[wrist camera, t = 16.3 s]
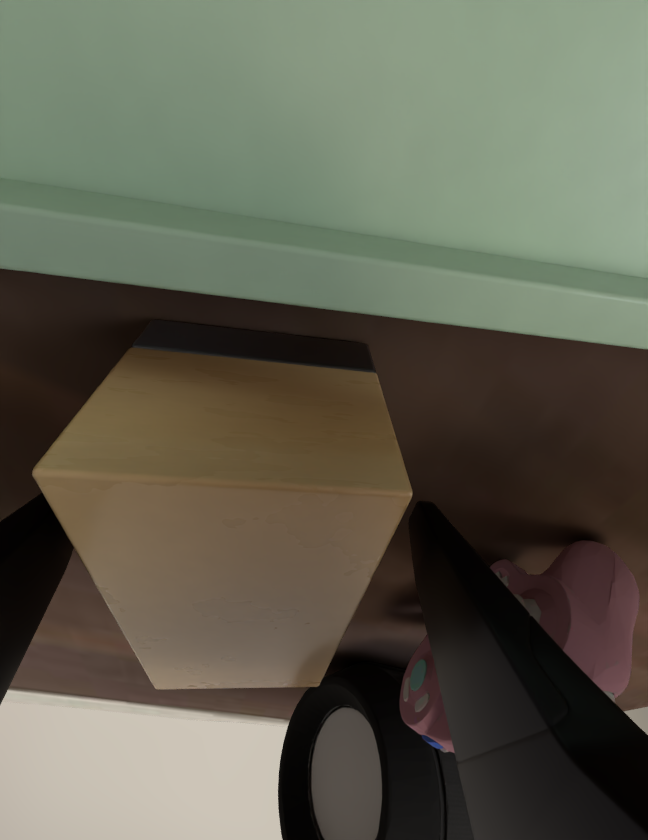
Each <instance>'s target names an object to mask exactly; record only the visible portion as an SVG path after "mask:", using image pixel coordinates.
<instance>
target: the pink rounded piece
mask: <svg viewBox="0 0 648 840" xmlns="http://www.w3.org/2000/svg"><path fill="white" fill-rule="evenodd" d="M490 568H491V569H492V571H493V572H494V573H495V574H496V575H497V576H498V577H499V579H500V580H501V581H502V582H503V583H504V584H505V585H506V587H507V588H508V589H509V590H510V591H511V592H512V593H513V595H514V596H515V597H516V598H517V599H518V600H519V601H520V603H521V604H522V605H523V606H524V607H525V608H526V609H527V611H528V612H529V613H530V616H533V617H534V618H535V620H536V621H537V622H538V623H539V624H540V625H541V626H542V628H543V629H544V630H545V631H546V632H547V633H548V634H549V635H550V637H551V638H552V639H553V640H554V641H555V642H556V643H557V644H558V645H559V646H560V648H561V649H562V650H563V651H564V652H565V653H566V654H567V655H568V656H569V657H570V658H571V659H572V660H573V661H574V662H575V663H576V664H577V665H578V666H579V667H580V668H581V669H582V670H583V672H584V673H585V674H586V675H587V676H588V677H589V678H590V679H591V680H592V681H593V682H594V683H595V684H596V685H597V686H598V687H599V688H600V689H601V690H602V691H603V692H604V693H605V694H606V695H607V696H608V697H609V698H610V699H611V700H612V701H613V702H614V703H615V699H614V698H616V697H617V696H619V695H620V694H621V693H622V692H623V691H624V690H625V688H626V687H627V686H628V682H629V678H630V674H631V660H632V639H633V629H634V625H635V621H636V617H637V613H638V608H639V590H638V587H637V584H636V581H635V577H634V576H633V575H632V573H631V572H630V570H629V569H628V567H627V566H626V564H625V563H624V562H623V561H622V559H621V558H620V557H619V556H618V555H617V554H616V553H615V552H613V551H612V550H611V549H610V548H609V547H607V546H605V545H603V544H600V543H597V542H594V541H578V542H575V543H573V544H571V545H569V546H567V547H566V548H565V549H564V550H563V551H562V552H561V553H560V554H559V556H558V557H557V558H556V559H555V560H554V562H553V563H552V564H551V565H550V567H549V568H548V569H547V570H546V571H545V572H543V573H542V574H540V575H528V574H527V573H526V572H525V571H524V570H523V569H521V568H520V567H518V566H517V565H515V564H514V563H512V562H510V561H509V560H506V559H503V560H499V561H497V562H495V563H494V564H493V565H491V566H490ZM400 713H401V717H402V719H403V721H404V722H405V723H406V724H407V725H408V726H409V727H411V728H412V729H413V730H415V731H416V732H417V733H419V734H420V735H422V738H423V739H424V740H425V741H426V742H427V743H429V744H430V745H432V746H433V747H435V748H437V749H440V750H441V751H443V752H444V753H445V752H449V751H450V752H453V753H454V748H453V744H452V740H451V735H450V731H449V726H448V722H447V718H446V713H445V709H444V704H443V700H442V696H441V691H440V687H439V682H438V678H437V674H436V669H435V665H434V660H433V656H432V652H431V647H430V643H429V638H428V634H427V635H426V637H425V638H424V640H423V641H422V643H421V644H420V646H419V647H418V648H417V650H416V651H415V653H414V654H413V656H412V658H411V660H410V662H409V664H408V666H407V669H406V671H405V674H404V677H403V682H402V687H401V692H400Z"/></svg>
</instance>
